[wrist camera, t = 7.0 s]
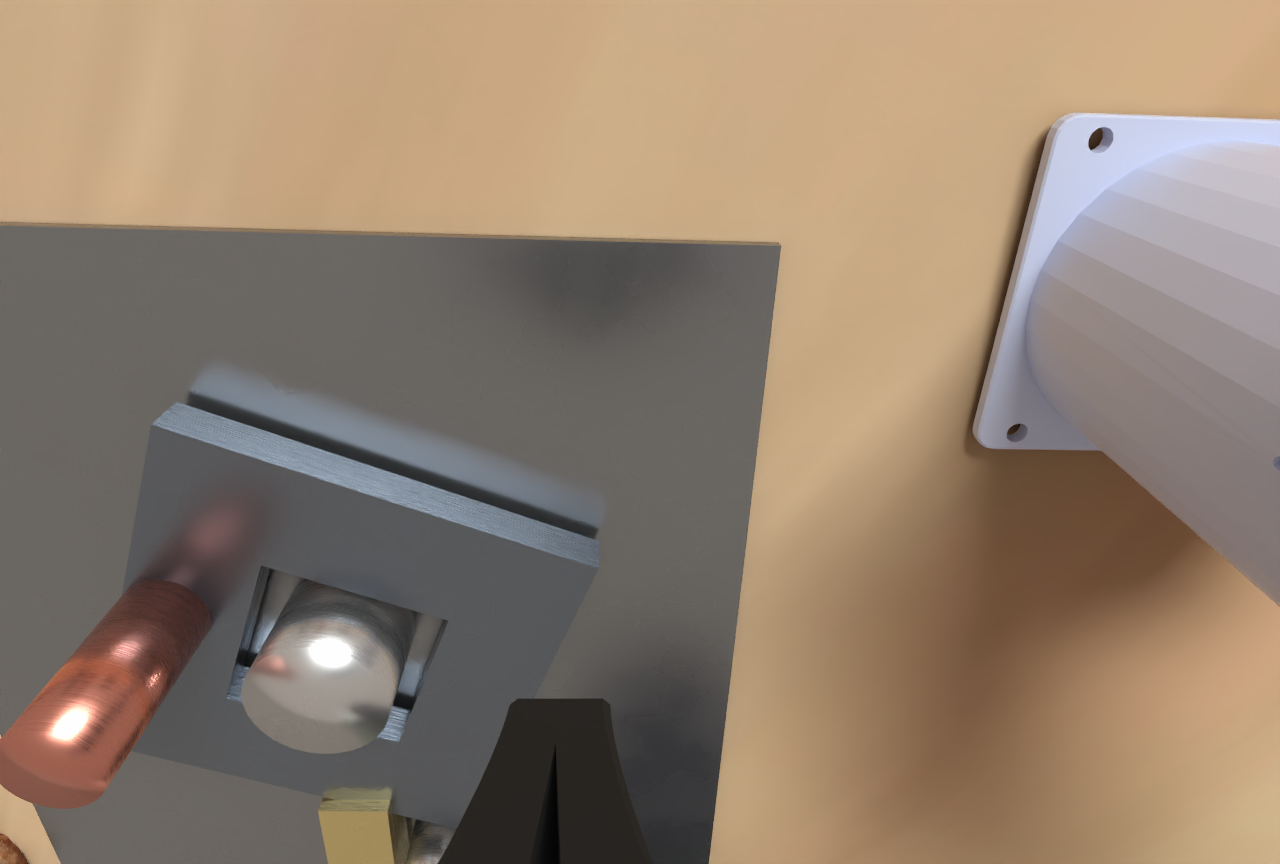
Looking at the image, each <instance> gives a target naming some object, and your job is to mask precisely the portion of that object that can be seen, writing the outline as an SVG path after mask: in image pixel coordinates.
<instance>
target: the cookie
mask: <svg viewBox="0 0 1280 864" xmlns="http://www.w3.org/2000/svg"><path fill="white" fill-rule="evenodd" d="M0 864H27V860H26V858H25V856H23V855H22V853H20V849H19V848H18V847H17V846H16V845H15V844H14V843H13V842H12V841H11V840H10V839H9V838H8V837H7V836H6V835H4V834H0Z"/></svg>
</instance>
